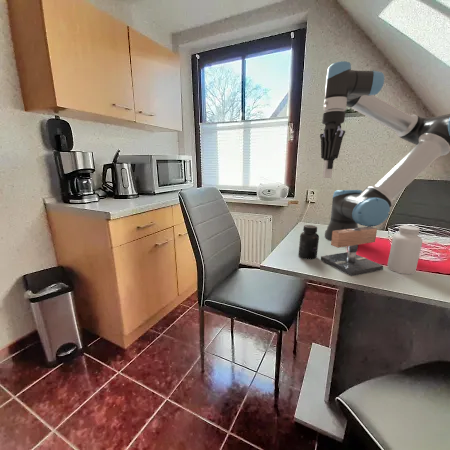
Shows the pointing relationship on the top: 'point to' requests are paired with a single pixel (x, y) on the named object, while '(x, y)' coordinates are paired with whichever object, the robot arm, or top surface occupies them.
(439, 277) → the top surface
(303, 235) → the supplement bottle
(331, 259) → the post base
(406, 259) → the pill bottle
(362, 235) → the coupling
